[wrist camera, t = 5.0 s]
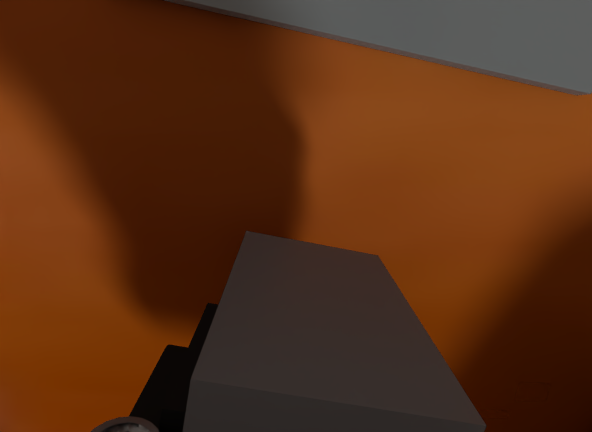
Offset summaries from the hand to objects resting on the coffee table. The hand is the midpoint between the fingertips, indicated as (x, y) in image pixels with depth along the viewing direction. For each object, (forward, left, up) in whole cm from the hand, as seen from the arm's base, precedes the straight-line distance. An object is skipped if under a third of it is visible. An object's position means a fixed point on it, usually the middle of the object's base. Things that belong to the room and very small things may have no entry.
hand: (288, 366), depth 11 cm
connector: (+1, 0, -1) cm, 1 cm away
